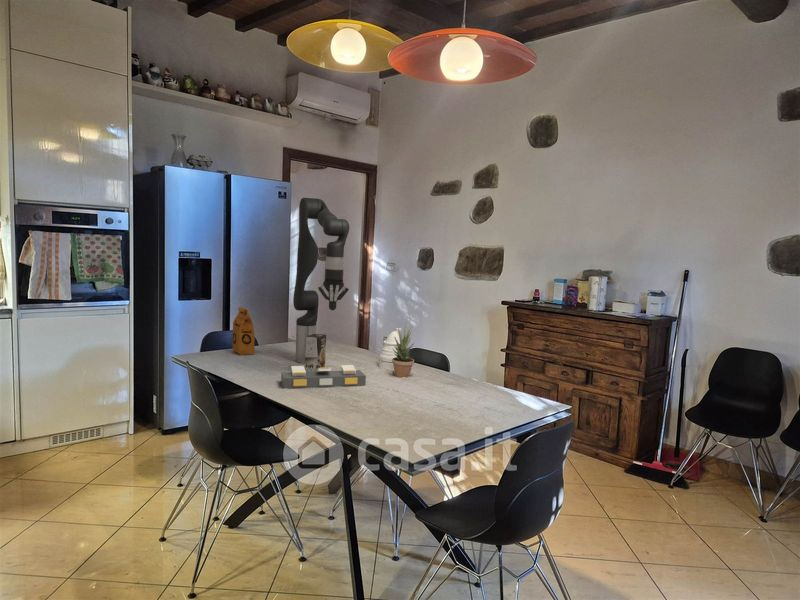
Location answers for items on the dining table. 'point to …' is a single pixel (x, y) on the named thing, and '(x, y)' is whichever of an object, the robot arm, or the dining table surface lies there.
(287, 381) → the switch box
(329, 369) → the switch
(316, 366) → the coffee box
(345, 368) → the switch
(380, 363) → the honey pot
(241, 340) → the coffee package
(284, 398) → the dining table surface
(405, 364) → the potted plant
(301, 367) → the switch
